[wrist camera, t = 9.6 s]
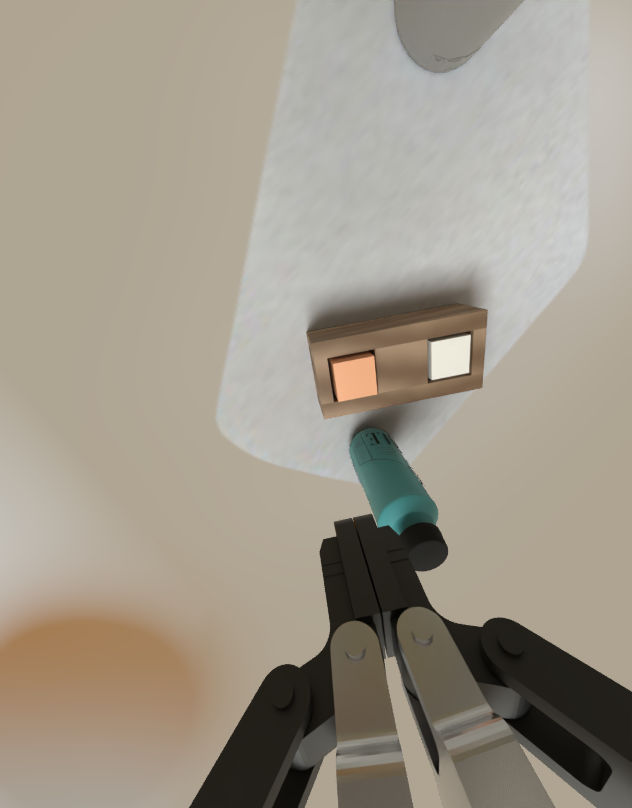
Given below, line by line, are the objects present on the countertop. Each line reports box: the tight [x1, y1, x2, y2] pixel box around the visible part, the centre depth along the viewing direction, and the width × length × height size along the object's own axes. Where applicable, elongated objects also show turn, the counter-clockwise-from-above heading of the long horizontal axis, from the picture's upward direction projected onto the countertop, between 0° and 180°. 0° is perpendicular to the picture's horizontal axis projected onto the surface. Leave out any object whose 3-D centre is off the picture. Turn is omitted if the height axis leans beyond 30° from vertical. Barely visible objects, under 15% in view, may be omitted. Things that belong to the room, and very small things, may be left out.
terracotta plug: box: [327, 351, 377, 402], centre depth 35 cm, size 4×4×5 cm
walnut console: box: [306, 304, 488, 419], centre depth 37 cm, size 9×19×6 cm, turn 99°
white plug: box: [427, 332, 471, 380], centre depth 37 cm, size 4×4×5 cm
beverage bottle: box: [349, 428, 448, 571], centre depth 36 cm, size 6×7×20 cm
